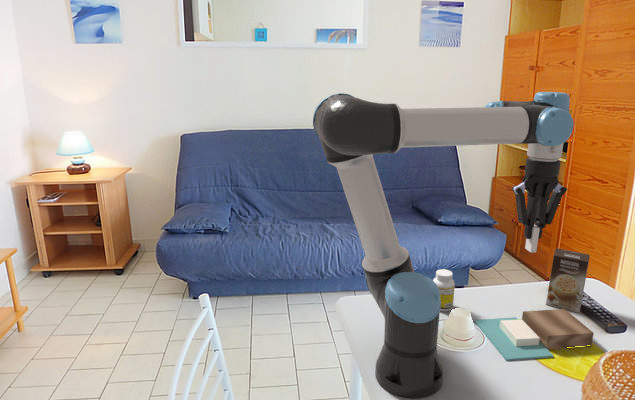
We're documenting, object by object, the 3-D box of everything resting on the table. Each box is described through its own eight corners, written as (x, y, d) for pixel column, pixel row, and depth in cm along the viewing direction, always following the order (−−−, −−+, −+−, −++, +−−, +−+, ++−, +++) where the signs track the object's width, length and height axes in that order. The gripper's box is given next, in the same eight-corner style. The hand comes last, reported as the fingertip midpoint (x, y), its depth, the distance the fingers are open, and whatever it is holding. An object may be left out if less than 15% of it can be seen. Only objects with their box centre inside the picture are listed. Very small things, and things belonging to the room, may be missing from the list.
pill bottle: (435, 299, 143) (437, 266, 140) (455, 305, 140) (458, 271, 137) (428, 308, 138) (430, 273, 135) (448, 314, 135) (451, 279, 132)
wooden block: (546, 350, 118) (548, 335, 117) (521, 324, 129) (522, 311, 128) (591, 346, 119) (593, 332, 118) (562, 321, 131) (564, 308, 129)
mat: (506, 360, 114) (506, 358, 114) (474, 321, 131) (474, 319, 131) (553, 357, 115) (553, 355, 115) (515, 318, 132) (515, 317, 132)
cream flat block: (515, 346, 119) (516, 339, 118) (499, 327, 127) (500, 320, 127) (538, 345, 119) (539, 338, 119) (521, 325, 128) (521, 319, 127)
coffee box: (544, 305, 140) (552, 254, 135) (547, 296, 145) (554, 247, 140) (580, 313, 135) (588, 261, 130) (581, 304, 140) (590, 253, 135)
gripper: (525, 161, 109) (512, 256, 115) (579, 161, 110) (563, 255, 116) (509, 155, 116) (499, 245, 123) (560, 155, 117) (547, 244, 123)
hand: (530, 250), depth 119 cm, fingers closed
